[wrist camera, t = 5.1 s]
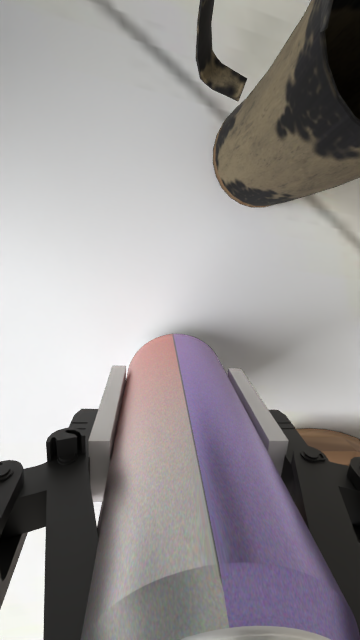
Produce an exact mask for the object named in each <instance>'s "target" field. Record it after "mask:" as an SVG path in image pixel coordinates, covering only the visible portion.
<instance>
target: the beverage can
mask: <svg viewBox="0 0 360 640" xmlns="http://www.w3.org/2000/svg"><path fill="white" fill-rule="evenodd" d="M97 533H98V540H99V541H98V547H97V552H96V558H95V563H94V569H93V574H92V580H91V585H90V591H89V596H88V602H87V607H86V613H85V618H84V624H83V629H82V634H81V640H360V635H359V630H358V626H357V622H356V620H355V617H354V615H353V613H352V611H351V609H350V607H349V605H348V603H347V601H346V599H345V597H344V595H343V594H342V592H341V590H340V588H339V586H338V584H337V582H336V580H335V578H334V577H333V575H332V573H331V571H330V569H329V567H328V565H327V563H326V561H325V560H324V558H323V556H322V554H321V552H320V550H319V548H318V546H317V544H316V542H315V541H314V539H313V537H312V535H311V533H310V531H309V529H308V527H307V525H306V524H305V522H304V520H303V518H302V516H301V514H300V512H299V510H298V508H297V506H296V505H295V503H294V501H293V499H292V497H291V495H290V493H289V491H288V489H287V488H286V486H285V484H284V482H283V480H282V478H281V476H280V474H279V472H278V471H277V469H276V467H275V465H274V463H273V461H272V459H271V457H270V455H269V453H268V452H267V450H266V448H265V446H264V444H263V442H262V440H261V438H260V436H259V435H258V433H257V431H256V429H255V427H254V425H253V423H252V421H251V419H250V418H249V416H248V414H247V412H246V410H245V408H244V406H243V404H242V402H241V400H240V399H239V397H238V395H237V393H236V391H235V389H234V387H233V385H232V383H231V382H230V380H229V378H228V376H227V374H226V372H225V370H224V368H223V366H222V364H221V363H220V361H219V359H218V357H217V355H216V354H215V352H214V351H213V350H212V349H211V348H210V347H209V346H208V345H207V344H206V343H204V342H203V341H201V340H199V339H197V338H195V337H192V336H189V335H184V334H169V335H164V336H160V337H158V338H155V339H153V340H151V341H149V342H148V343H146V344H145V345H144V346H143V347H141V348H140V349H139V351H138V352H137V353H136V354H135V356H134V357H133V359H132V361H131V363H130V365H129V369H128V373H127V378H126V383H125V388H124V393H123V399H122V404H121V409H120V414H119V419H118V424H117V429H116V434H115V439H114V444H113V450H112V455H111V460H110V465H109V470H108V475H107V480H106V485H105V490H104V495H103V501H102V506H101V511H100V516H99V521H98V526H97Z"/></svg>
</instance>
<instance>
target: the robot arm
mask: <svg viewBox="0 0 360 640" xmlns="http://www.w3.org/2000/svg"><path fill="white" fill-rule="evenodd" d="M228 378H229V380H230V382H231V383H232V385H233V387H234V389H235V391H236V393H237V395H238V397H239V399H240V400H241V402H242V404H243V406H244V408H245V410H246V412H247V414H248V416H249V418H250V419H251V421H252V423H253V425H254V427H255V429H256V431H257V433H258V435H259V436H260V438H261V440H262V442H263V444H264V446H265V448H266V450H267V452H268V453H269V455H270V457H271V459H272V461H273V463H274V465H275V467H276V469H277V471H278V472H279V474H280V476H281V478H282V480H283V482H284V484H285V486H286V488H287V489H288V491H289V493H290V495H291V497H292V499H293V501H294V503H295V505H296V506H297V508H298V510H299V512H300V514H301V516H302V518H303V520H304V522H305V524H306V525H307V527H308V529H309V531H310V533H311V535H312V537H313V539H314V541H315V542H316V544H317V546H318V548H319V550H320V552H321V554H322V556H323V558H324V560H325V561H326V563H327V565H328V567H329V569H330V571H331V573H332V575H333V577H334V578H335V580H336V582H337V584H338V586H339V588H340V590H341V592H342V594H343V595H344V597H345V599H346V601H347V603H348V605H349V607H350V609H351V611H352V613H353V615H354V617H355V620H356V622H357V626H358V630H359V635H360V457H354V458H352V459H351V460H350V464H349V466H347V465H342V464H338V463H333V462H330V461H329V460H328V458H327V457H326V455H325V454H324V453H322V452H321V451H320V450H318V449H316V448H314V447H310V446H308V445H307V444H306V442H305V441H304V440H303V438H302V437H301V435H300V434H299V433H298V431H297V430H296V429H295V427H294V426H293V425H292V424H291V422H290V421H289V419H288V418H287V416H286V415H284V414H283V413H281V412H280V411H279V410H268V409H267V407H266V406H265V404H264V403H263V401H262V400H261V398H260V397H259V395H258V394H257V392H256V391H255V389H254V387H253V386H252V384H251V383H250V381H249V380H248V378H247V377H246V375H245V374H244V372H243V371H242V369H241V368H228ZM125 383H126V366H112V369H111V372H110V375H109V378H108V381H107V384H106V387H105V391H104V394H103V397H102V400H101V403H100V406H99V409H81V410H80V411H79V412H77V413H76V414H75V415H74V417H73V419H72V421H71V424H70V426H69V428H64V429H61V430H58V431H56V432H54V433H52V434H51V435H50V436H49V437H48V439H47V442H46V448H47V462H46V463H44V464H41V465H38V466H35V467H31V468H26V469H23V467H22V465H21V463H19V462H17V461H13V460H7V461H1V462H0V609H1V606H2V603H3V600H4V597H5V595H6V592H7V589H8V586H9V583H10V581H11V578H12V575H13V572H14V569H15V567H16V564H17V561H18V558H19V555H20V553H21V550H22V547H23V544H24V541H25V539H26V536H27V533H28V532H30V531H33V530H36V529H39V528H42V527H46V550H45V596H44V640H81V634H82V629H83V624H84V618H85V613H86V607H87V602H88V596H89V591H90V585H91V580H92V574H93V569H94V563H95V558H96V552H97V547H98V541H99V540H98V533H97V526H96V520H95V513H94V506H93V502H102V501H103V495H104V490H105V485H106V480H107V475H108V470H109V465H110V460H111V455H112V450H113V444H114V439H115V434H116V429H117V424H118V419H119V414H120V409H121V404H122V399H123V393H124V388H125Z"/></svg>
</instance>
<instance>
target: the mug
mask: <svg viewBox="0 0 360 640" xmlns="http://www.w3.org/2000/svg"><path fill="white" fill-rule="evenodd" d="M213 6H214V0H200V5H199V14H198V22H197V42H196V61H197V66H198V71H199V76H200V79H201V80H202V81H203V82H204V83H205V84H206V85H207V86H209V87H210V88H211V89H213V90H215V91H217V92H219V93H221V94H223V95H226V96H228V97H230V98H232V99H234V100H236V101H239V98H240V96H241V93H242V91H243V88H244V86H245V83H246V80H247V78H245V77H244V76H242V75H240V74H239V73H237V72H235V71H233V70H232V69H230V68H228V67H227V66H225V65H223V64H222V63H221V62H220V61H219V60H218V58H217V57H216V56H215V54H214V52H213V51H212V31H211V21H212V13H213ZM213 165H214V170H215V174H216V177H217V179H218V181H219V183H220V185H221V187H222V189H223V190H224V191H225V192H226V193H227V194H228V196H229V197H230V198H232V199H233V200H235V201H236V202H238V203H240V204H242V205H245V206H249V207H266V206H270V205H273V204H278V203H283V202H287V201H291V200H294V199H298V198H301V197H304V196H308V195H311V194H314V193H317V192H321V191H324V190H327V189H330V188H334V187H337V186H339V185H342V184H344V183H347V182H349V181H352V180H354V179H357V178H360V0H311V2H310V4H309V6H308V8H307V10H306V12H305V14H304V15H303V17H302V19H301V20H300V22H299V23H298V25H297V26H296V28H295V30H294V31H293V33H292V34H291V36H290V37H289V39H288V41H287V42H286V44H285V45H284V47H283V48H282V50H281V52H280V53H279V55H278V56H277V58H276V59H275V61H274V63H273V64H272V66H271V67H270V69H269V70H268V72H267V73H266V74H265V75H264V77H263V78H262V79H261V80H260V82H259V83H258V84H257V86H256V87H255V88H254V89H253V91H252V92H251V93H250V94H249V96H248V97H247V98H246V99H245V100H244V101H243V102H242V103H241V104H240V105H239V106H238V107H237V108H236V109H235V110H234V111H233V112H232V113H231V114H230V115H229V116H228V117H227V119H226V120H225V121H224V123H223V124H222V126H221V128H220V130H219V132H218V134H217V136H216V140H215V144H214V148H213Z"/></svg>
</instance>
